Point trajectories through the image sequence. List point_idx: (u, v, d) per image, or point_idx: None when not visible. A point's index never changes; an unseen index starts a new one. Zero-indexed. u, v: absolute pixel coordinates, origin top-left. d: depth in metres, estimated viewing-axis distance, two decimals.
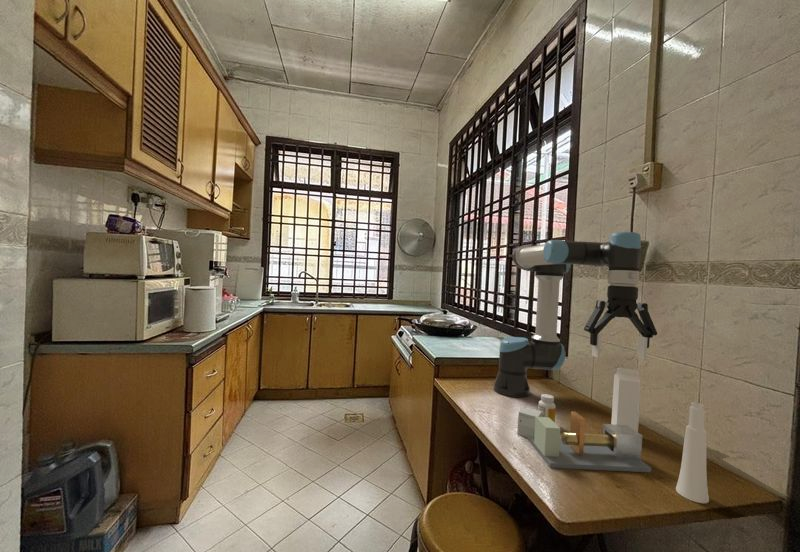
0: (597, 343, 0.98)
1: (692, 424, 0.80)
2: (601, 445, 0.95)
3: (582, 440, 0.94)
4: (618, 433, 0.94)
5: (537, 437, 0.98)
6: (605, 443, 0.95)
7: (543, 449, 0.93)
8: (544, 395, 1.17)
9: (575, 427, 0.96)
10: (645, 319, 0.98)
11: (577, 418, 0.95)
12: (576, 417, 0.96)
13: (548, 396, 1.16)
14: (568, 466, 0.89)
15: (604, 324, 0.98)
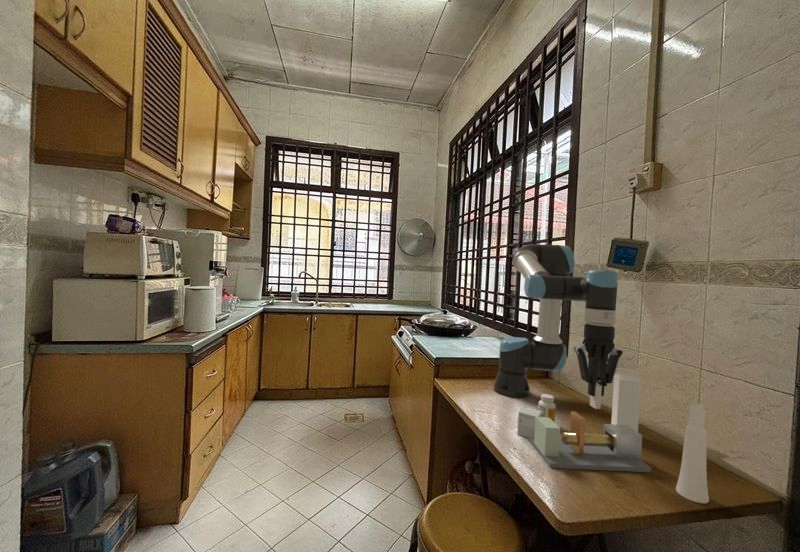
0: (595, 394, 0.95)
1: (692, 424, 0.80)
2: (601, 445, 0.95)
3: (582, 440, 0.94)
4: (618, 433, 0.94)
5: (537, 437, 0.98)
6: (605, 443, 0.95)
7: (543, 449, 0.93)
8: (544, 395, 1.17)
9: (575, 427, 0.96)
10: (610, 364, 0.96)
11: (577, 418, 0.95)
12: (576, 417, 0.96)
13: (548, 396, 1.16)
14: (568, 466, 0.89)
15: (595, 371, 0.95)
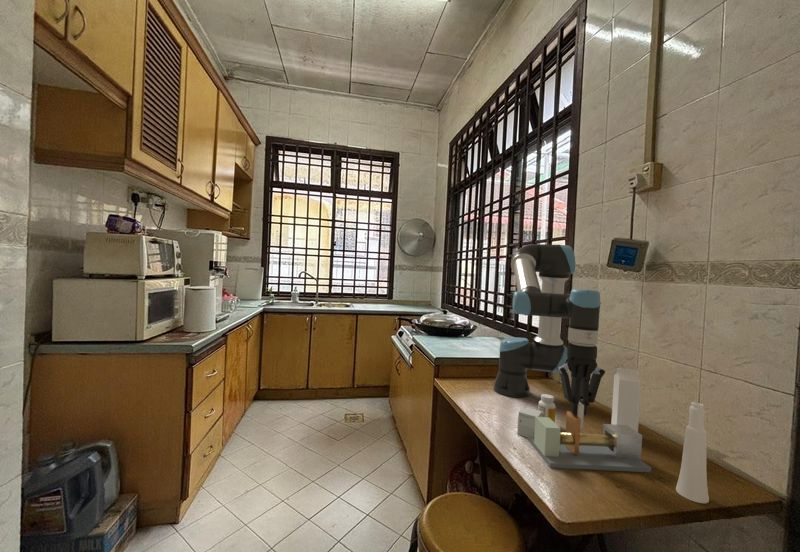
0: (577, 413, 0.95)
1: (692, 424, 0.80)
2: (597, 445, 0.95)
3: (577, 440, 0.94)
4: (618, 433, 0.94)
5: (537, 437, 0.98)
6: (600, 443, 0.95)
7: (543, 449, 0.93)
8: (544, 395, 1.17)
9: (571, 427, 0.96)
10: (593, 383, 0.96)
11: (573, 417, 0.95)
12: (572, 417, 0.96)
13: (548, 396, 1.16)
14: (568, 466, 0.89)
15: (577, 390, 0.95)
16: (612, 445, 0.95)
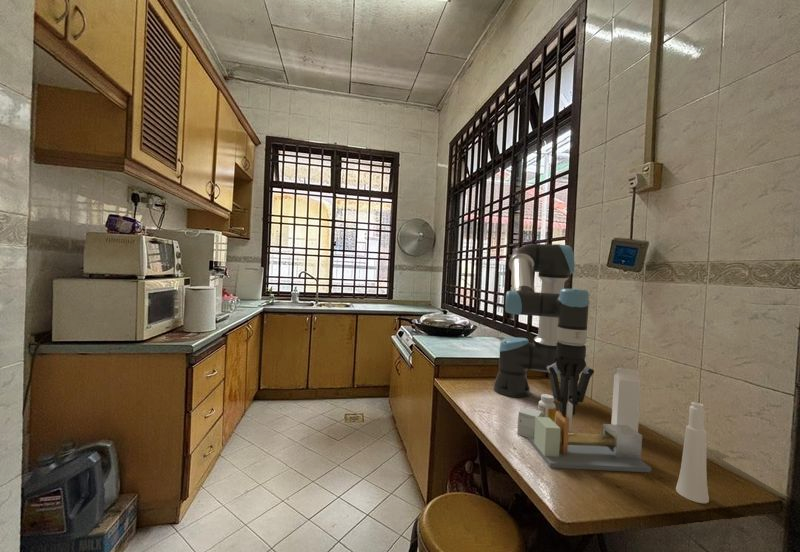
0: (566, 412, 0.95)
1: (692, 424, 0.80)
2: (585, 444, 0.95)
3: (566, 439, 0.94)
4: (618, 433, 0.94)
5: (537, 437, 0.98)
6: (589, 443, 0.95)
7: (543, 449, 0.93)
8: (544, 395, 1.17)
9: (559, 426, 0.96)
10: (582, 383, 0.96)
11: (562, 417, 0.95)
12: (560, 416, 0.96)
13: (548, 396, 1.16)
14: (568, 466, 0.89)
15: (566, 390, 0.95)
16: (601, 444, 0.95)
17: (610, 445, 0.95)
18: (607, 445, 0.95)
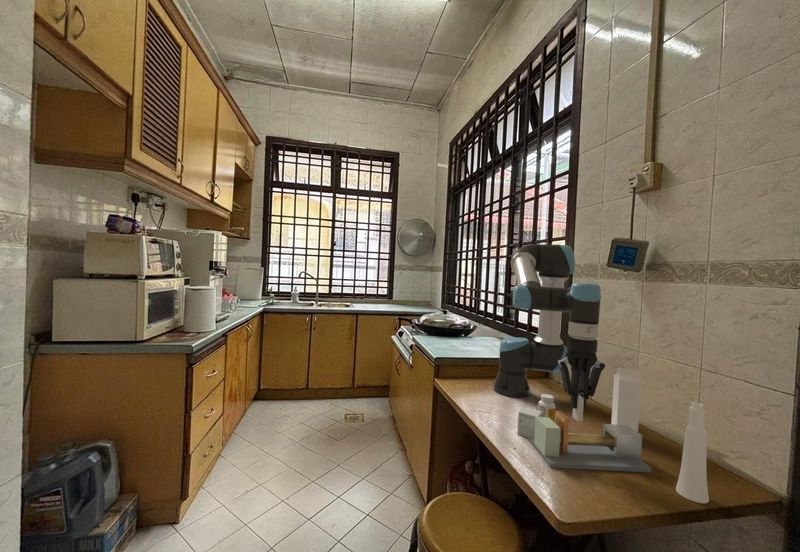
0: (577, 406, 0.95)
1: (692, 424, 0.80)
2: (585, 444, 0.95)
3: (566, 439, 0.94)
4: (618, 433, 0.94)
5: (537, 437, 0.98)
6: (589, 443, 0.95)
7: (543, 449, 0.93)
8: (544, 395, 1.17)
9: (559, 426, 0.96)
10: (593, 377, 0.96)
11: (561, 417, 0.95)
12: (560, 416, 0.96)
13: (548, 396, 1.16)
14: (568, 466, 0.89)
15: (577, 384, 0.95)
16: (601, 444, 0.95)
17: (610, 445, 0.95)
18: (607, 445, 0.95)
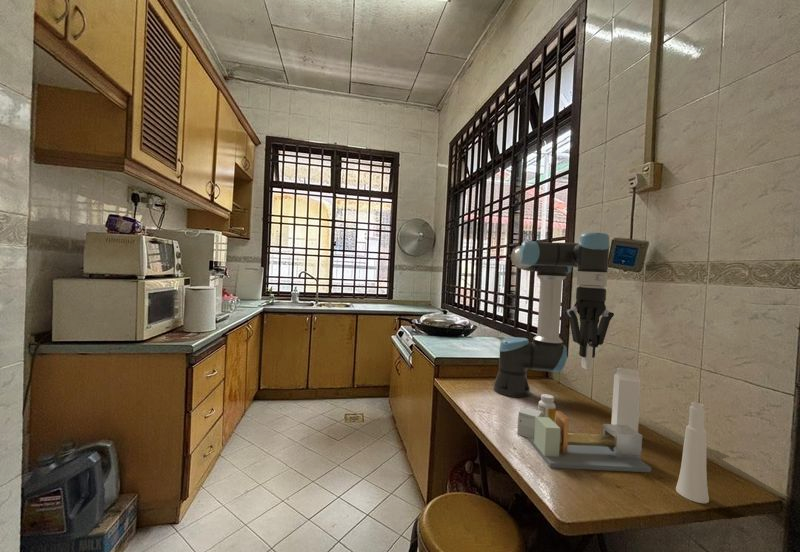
0: (586, 355, 0.97)
1: (692, 424, 0.80)
2: (585, 444, 0.95)
3: (566, 439, 0.94)
4: (618, 433, 0.94)
5: (537, 437, 0.98)
6: (589, 443, 0.95)
7: (543, 449, 0.93)
8: (544, 395, 1.17)
9: (559, 426, 0.96)
10: (602, 326, 0.97)
11: (561, 417, 0.95)
12: (560, 416, 0.96)
13: (548, 396, 1.16)
14: (568, 466, 0.89)
15: (586, 332, 0.96)
16: (601, 444, 0.95)
17: (610, 445, 0.95)
18: (607, 445, 0.95)
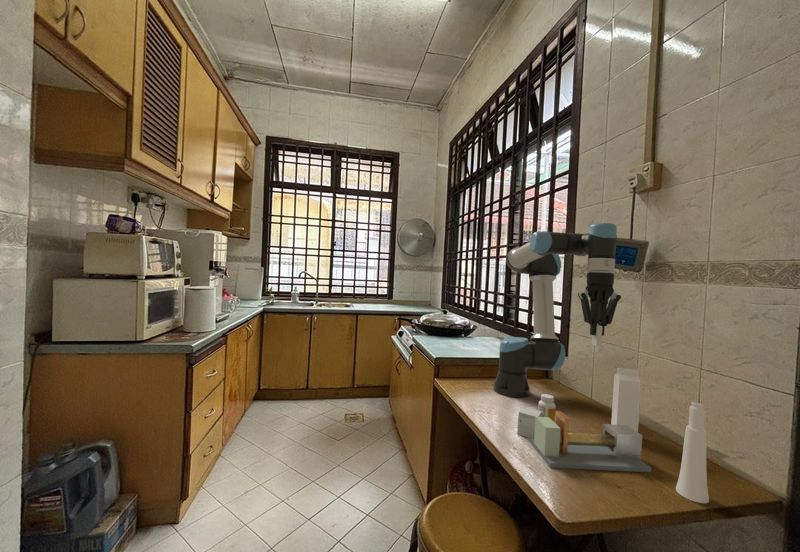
0: (596, 333, 1.07)
1: (692, 424, 0.80)
2: (585, 444, 0.95)
3: (566, 439, 0.94)
4: (618, 433, 0.94)
5: (537, 437, 0.98)
6: (589, 443, 0.95)
7: (543, 449, 0.93)
8: (544, 395, 1.17)
9: (559, 426, 0.96)
10: (610, 307, 1.08)
11: (561, 417, 0.95)
12: (560, 416, 0.96)
13: (548, 396, 1.16)
14: (568, 466, 0.89)
15: (596, 313, 1.07)
16: (601, 444, 0.95)
17: (610, 445, 0.95)
18: (607, 445, 0.95)
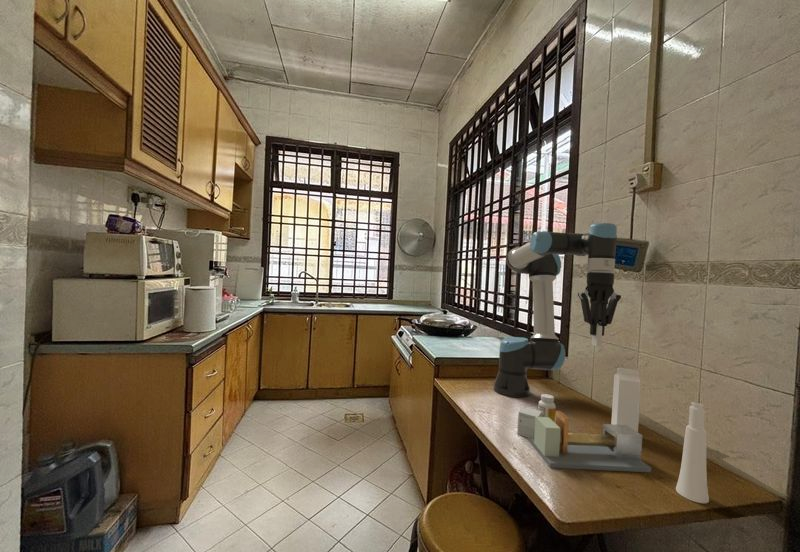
0: (596, 333, 1.07)
1: (692, 424, 0.80)
2: (585, 444, 0.95)
3: (566, 439, 0.94)
4: (618, 433, 0.94)
5: (537, 437, 0.98)
6: (589, 443, 0.95)
7: (543, 449, 0.93)
8: (544, 395, 1.17)
9: (559, 426, 0.96)
10: (610, 307, 1.08)
11: (561, 417, 0.95)
12: (560, 416, 0.96)
13: (548, 396, 1.16)
14: (568, 466, 0.89)
15: (596, 313, 1.07)
16: (601, 444, 0.95)
17: (610, 445, 0.95)
18: (607, 445, 0.95)
